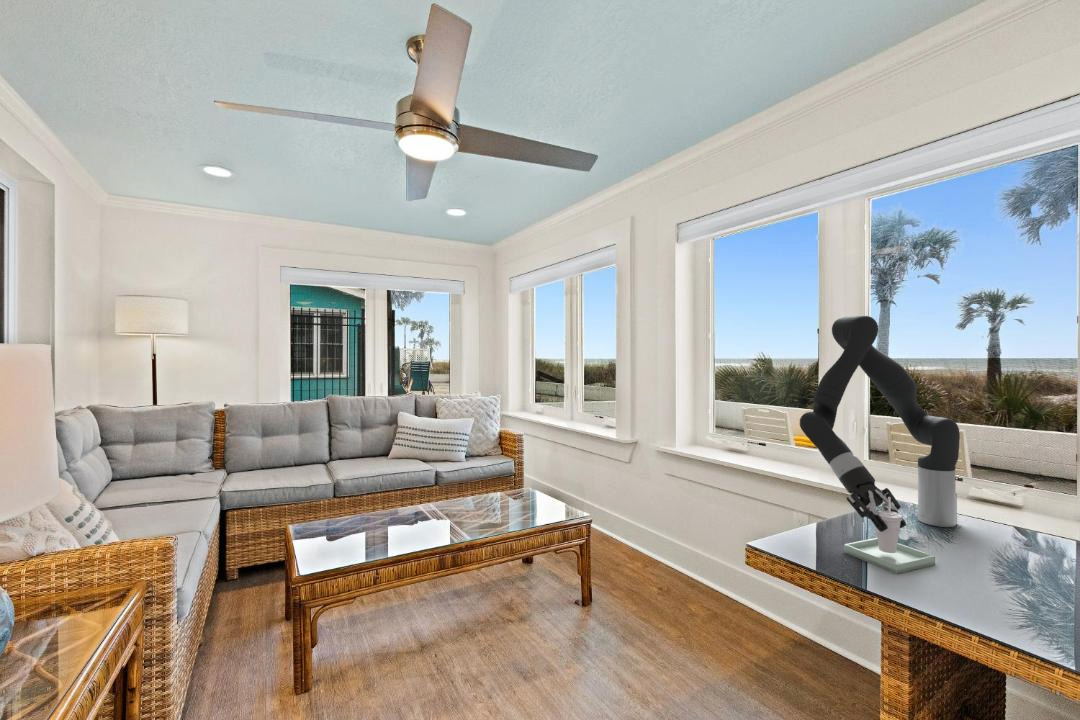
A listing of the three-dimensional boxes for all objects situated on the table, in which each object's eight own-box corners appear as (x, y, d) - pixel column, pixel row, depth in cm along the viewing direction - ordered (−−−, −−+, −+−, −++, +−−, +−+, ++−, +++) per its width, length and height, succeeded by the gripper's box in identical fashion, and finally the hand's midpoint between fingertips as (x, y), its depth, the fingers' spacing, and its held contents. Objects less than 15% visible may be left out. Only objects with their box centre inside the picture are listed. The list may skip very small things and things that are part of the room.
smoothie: (908, 555, 126) (908, 500, 126) (883, 555, 126) (883, 501, 126) (891, 545, 132) (891, 493, 132) (867, 545, 133) (866, 493, 132)
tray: (880, 544, 138) (880, 536, 138) (935, 564, 125) (935, 556, 125) (844, 552, 133) (843, 544, 133) (896, 573, 120) (896, 564, 120)
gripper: (841, 467, 133) (884, 525, 123) (878, 462, 138) (923, 518, 127) (823, 482, 139) (864, 539, 128) (860, 477, 143) (902, 531, 132)
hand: (893, 528), depth 128 cm, fingers closed on smoothie, 6 cm apart
